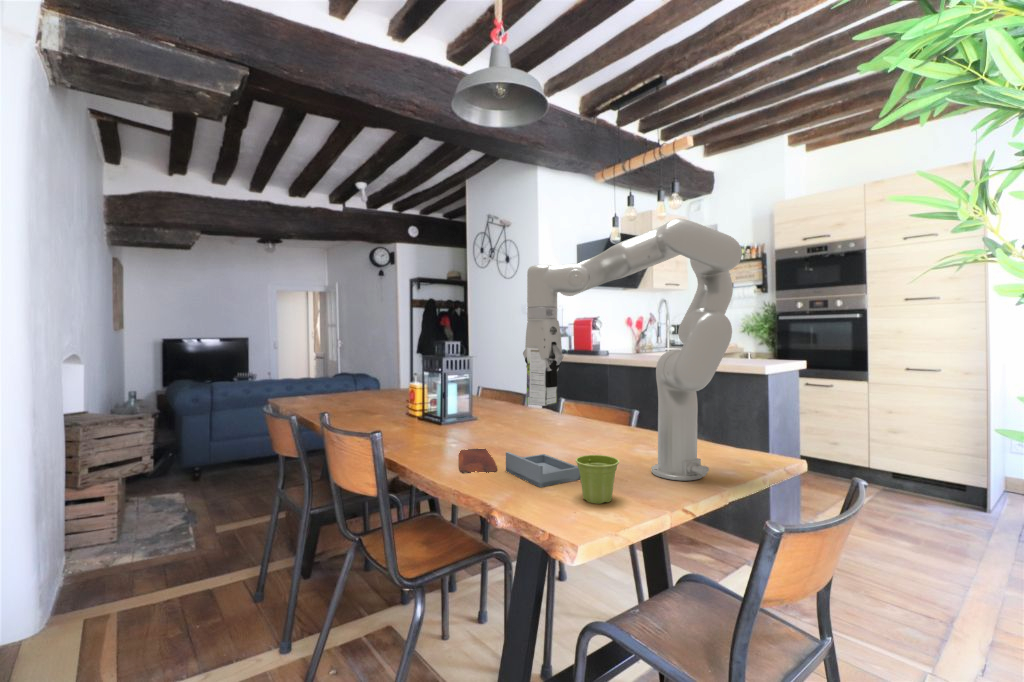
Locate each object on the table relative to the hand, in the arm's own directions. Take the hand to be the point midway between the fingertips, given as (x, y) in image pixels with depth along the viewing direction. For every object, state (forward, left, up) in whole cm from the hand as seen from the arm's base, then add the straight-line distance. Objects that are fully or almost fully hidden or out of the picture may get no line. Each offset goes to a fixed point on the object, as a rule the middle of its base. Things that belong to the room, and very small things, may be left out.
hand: (542, 385), depth 128 cm
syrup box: (0, 0, -5) cm, 5 cm away
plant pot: (-21, 0, -23) cm, 31 cm away
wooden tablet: (+22, +7, -24) cm, 33 cm away
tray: (0, 0, -23) cm, 23 cm away
